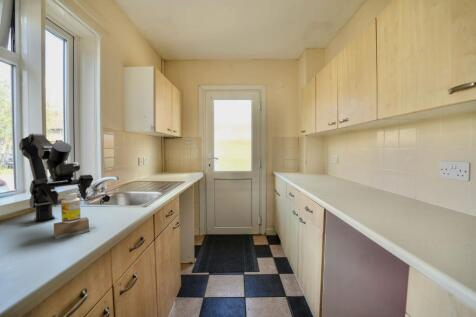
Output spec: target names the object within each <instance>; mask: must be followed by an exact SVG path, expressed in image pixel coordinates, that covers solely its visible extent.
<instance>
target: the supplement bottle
mask: <svg viewBox="0 0 476 317" xmlns="http://www.w3.org/2000/svg"><path fill="white" fill-rule="evenodd" d="M60 208H61V211H60V212H61V222H63V223H73V222H76V221H79V220H80V218H81V199H80V198H79V197H78V193H77V192H69V193H64V194H63V199H61V200H60Z"/></svg>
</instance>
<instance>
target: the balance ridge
mask: <svg viewBox="0 0 476 317" xmlns="http://www.w3.org/2000/svg"><path fill="white" fill-rule="evenodd" d="M90 230H91V229H90V221H89V219H88V217H87V216H86V217H80V220H79V221H76V222H73V223H63V222H62V221H61V222H60V221H59V222H55V223H53V236H54V239H55V240H58V239H63V238H68V237H72V236H77V235H80V234H86V233H89V232H90Z"/></svg>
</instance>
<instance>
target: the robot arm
mask: <svg viewBox="0 0 476 317" xmlns="http://www.w3.org/2000/svg"><path fill="white" fill-rule="evenodd" d="M45 136H46V135H45V134H42V133H31V134H28V136H25V137H23V138H21V140H20V141H19V145H18V148H19V150H20V151H21V153H22V156H23V157H25V158H26V159H27V160H28V162H29V166H30V170H31V174H32V175H31V176H32V181H31V183H30V186H29V194H30V198H29V201H28V202H29V203H28V204H29V207H30V208H32V209H35V210H34V211H35V217H34V222H35V223H37V222H43V221H48V220H49V221H50V220H54V219H55V216H54V214H53V206H54V205H55V206H56V205H58V202H59V193H58V191H57V190H56V188H61V187H62V188H63V187H70V186H71V187H72V186H77V188H78V192H79V194H80V196H81V198H82V200H83V201H84V200H86V198H87V196H86V195H87V189H89V188H90V187H91V185H92V183H93V181H94V177H93V175H92V174H82V175H80V176H79V178H78V179H72V178H74V173H75V172H79V171H80V170H81V166H80V164H79V162H78V161H77V162H71V163H66V161H68V159H69V156H70V153H71V151H72V146H71V144H70V143H67V142H65V141H63V139H55V142H54V143H52V142H51V141H50V140H49V139H47V138H46V137H45ZM44 160H46V161H45V164H46V168H45V165H44ZM46 170H48V172H49V179H50V180H51V181H49V180H48V176H47V173H46Z"/></svg>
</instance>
